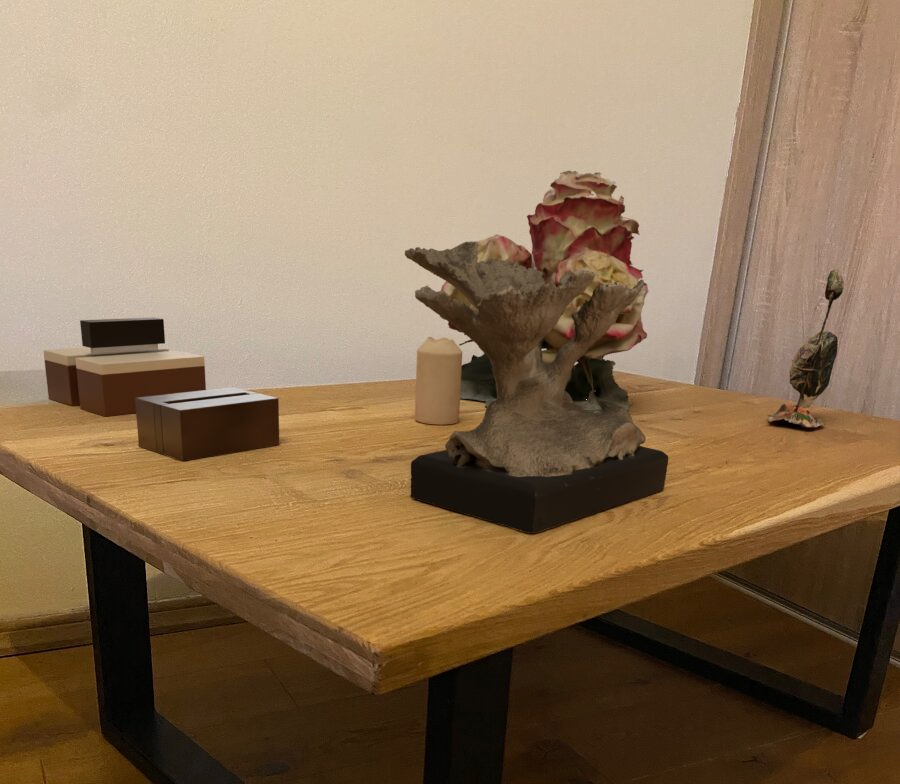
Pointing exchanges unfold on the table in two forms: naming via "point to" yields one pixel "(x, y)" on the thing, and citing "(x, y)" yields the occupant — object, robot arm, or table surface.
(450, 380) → the candle
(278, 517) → the table surface
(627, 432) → the coral
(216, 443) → the brown wooden slotted box
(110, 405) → the wooden blocks
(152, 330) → the dark piece
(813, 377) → the plant with pod
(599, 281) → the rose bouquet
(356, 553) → the table surface
